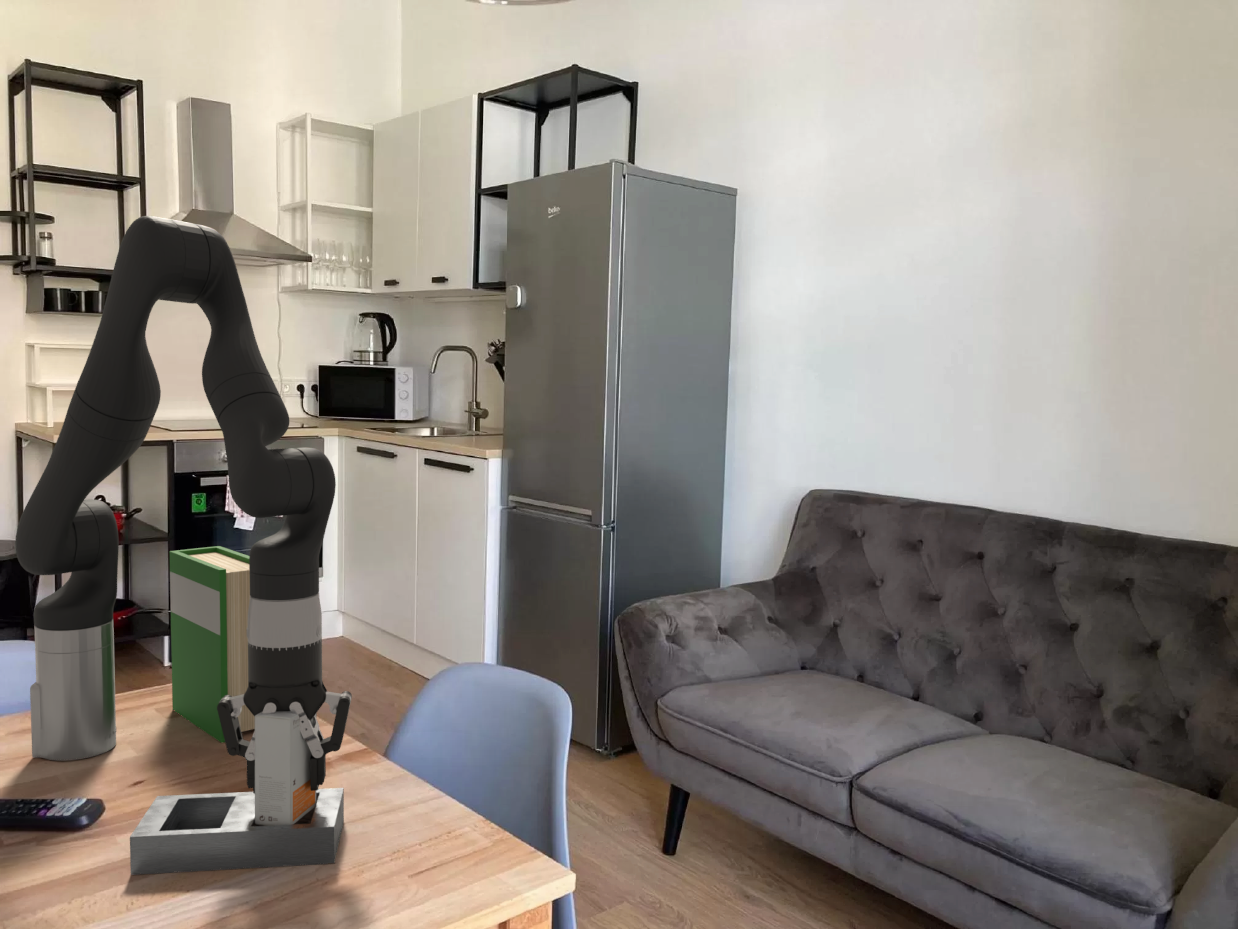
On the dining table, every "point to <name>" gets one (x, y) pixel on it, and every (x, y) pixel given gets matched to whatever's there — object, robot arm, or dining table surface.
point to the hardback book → (209, 634)
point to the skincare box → (281, 770)
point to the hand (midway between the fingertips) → (286, 788)
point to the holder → (232, 834)
